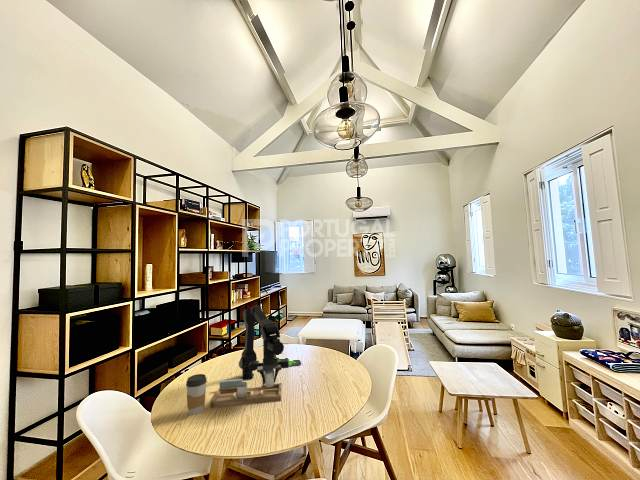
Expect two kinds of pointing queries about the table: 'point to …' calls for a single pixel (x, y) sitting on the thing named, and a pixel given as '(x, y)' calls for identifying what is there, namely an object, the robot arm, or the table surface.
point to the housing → (253, 396)
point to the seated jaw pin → (242, 390)
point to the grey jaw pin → (269, 378)
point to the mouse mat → (291, 362)
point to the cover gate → (229, 383)
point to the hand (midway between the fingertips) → (269, 382)
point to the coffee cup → (196, 393)
